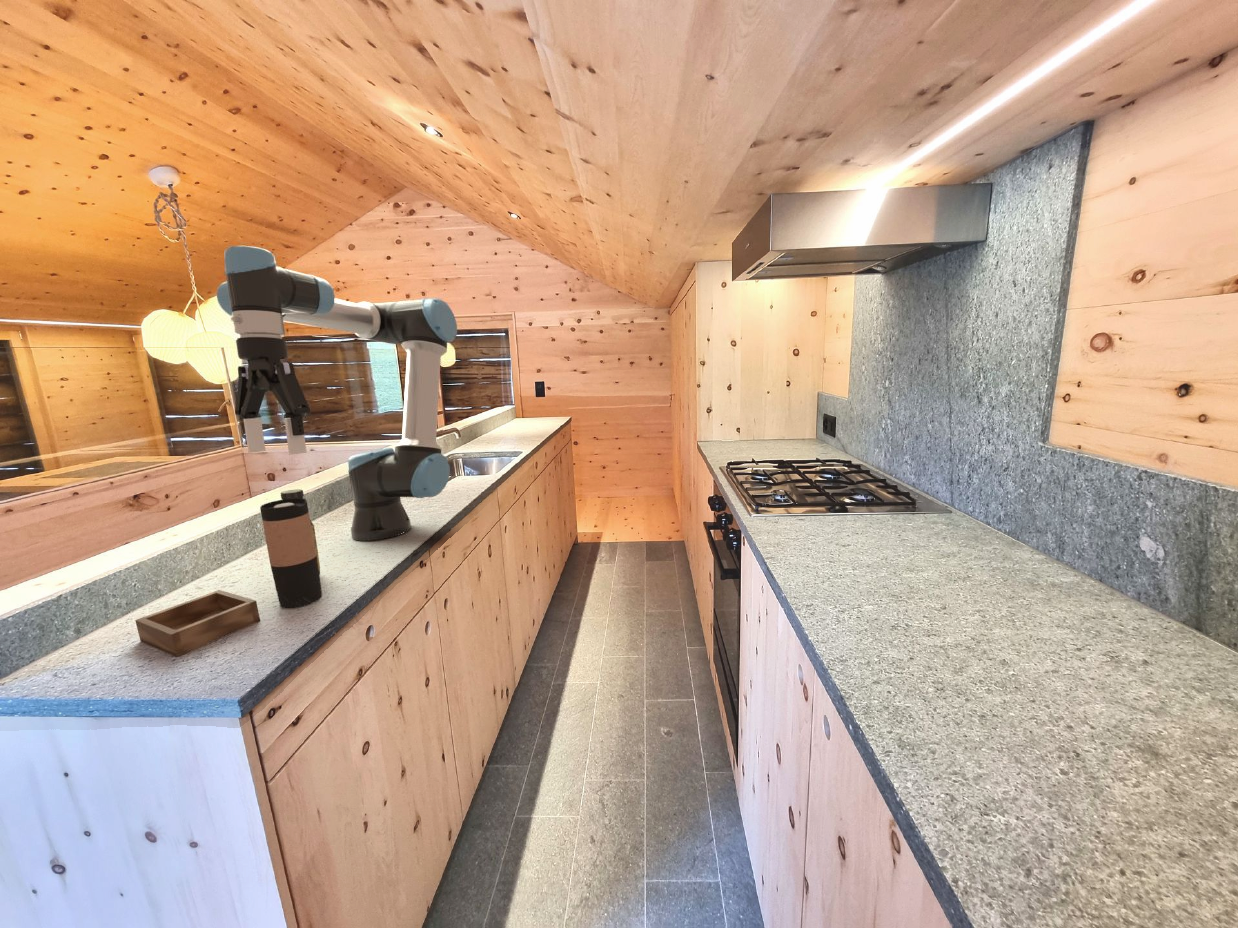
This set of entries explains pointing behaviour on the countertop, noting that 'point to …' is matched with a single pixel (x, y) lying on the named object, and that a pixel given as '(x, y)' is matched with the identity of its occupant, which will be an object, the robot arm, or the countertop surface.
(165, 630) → the rectangular wooden tray
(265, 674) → the countertop surface
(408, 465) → the robot arm
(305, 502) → the travel mug
